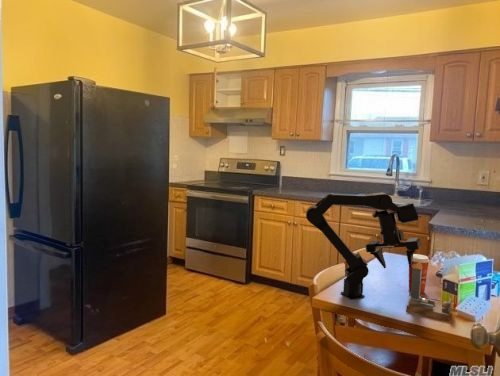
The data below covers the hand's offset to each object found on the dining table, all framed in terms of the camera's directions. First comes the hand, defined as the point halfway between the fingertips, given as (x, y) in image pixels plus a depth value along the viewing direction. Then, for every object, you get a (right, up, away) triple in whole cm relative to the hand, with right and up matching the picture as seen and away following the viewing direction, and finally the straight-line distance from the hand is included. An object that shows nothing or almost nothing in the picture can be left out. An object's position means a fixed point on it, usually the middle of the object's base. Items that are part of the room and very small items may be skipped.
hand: (397, 267), depth 140 cm
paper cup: (+11, -11, +10) cm, 19 cm away
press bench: (+7, -13, -10) cm, 18 cm away
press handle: (+4, -11, -8) cm, 14 cm away
